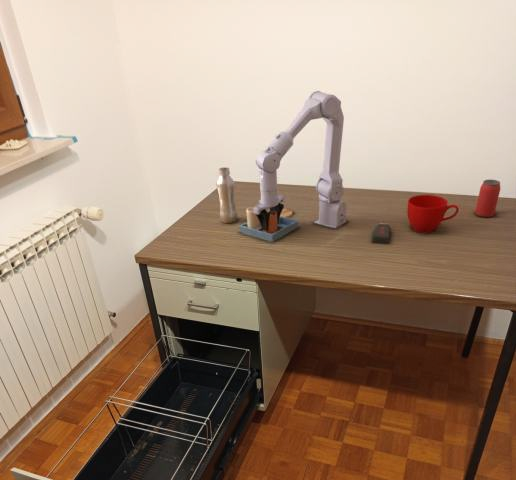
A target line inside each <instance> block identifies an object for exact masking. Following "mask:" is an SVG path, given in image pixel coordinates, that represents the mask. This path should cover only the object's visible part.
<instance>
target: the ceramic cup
mask: <svg viewBox="0 0 516 480" xmlns="http://www.w3.org/2000/svg"><path fill="white" fill-rule="evenodd" d="M451 208H452V209H453V208H455V209H456V210H455V212H454V213H453V214H452V215H449V216H446V213H447V212H448V210H450V209H451ZM459 210H460V209H459V207H458V205H456V204H450V205H449V204H448V200H447V199H446V198H444V197H442V196H439V195H432V194H419V195H414V196H410V197H409V199H408V200H407V211H406V212H407V219H408V222H409V224H410V225H411V227H412V228H413V230H414V231H416V232H418V233H423V234H424V233H426V234H427V233H431V232H433V231H435V229H436V228H437V227H439V225H441V223H442V222H444V221H448V220H451V219H454V218H455V217H456V216H457V214H458V213H459ZM445 216H446V217H445Z"/></svg>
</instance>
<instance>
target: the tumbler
mask: <svg viewBox="0 0 516 480" xmlns="http://www.w3.org/2000/svg"><path fill="white" fill-rule="evenodd" d="M266 211H267V212H269V213H271V214H270V217H269V224H268V231H265V230H263V232H266V233H270V234H273V233H275V232H277V231H278V225H277V212H275V211H270V210H266Z"/></svg>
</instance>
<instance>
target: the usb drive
mask: <svg viewBox="0 0 516 480" xmlns="http://www.w3.org/2000/svg"><path fill="white" fill-rule="evenodd" d="M391 229H392V228H391V226H390V224H389V223H378V224H376V226H375V227H374V231H373V237H372V243H376V244H377V243H378V244H389V243H390V237H391Z"/></svg>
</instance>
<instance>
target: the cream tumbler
mask: <svg viewBox="0 0 516 480" xmlns="http://www.w3.org/2000/svg"><path fill="white" fill-rule="evenodd" d="M254 207H255V206H250V207H247V208H246V211H245V212H246V222H247V227H249V228H252V229H258V228H260V227H261V224H260V221H259V219H258V217H257V216H256V214H254Z"/></svg>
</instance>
